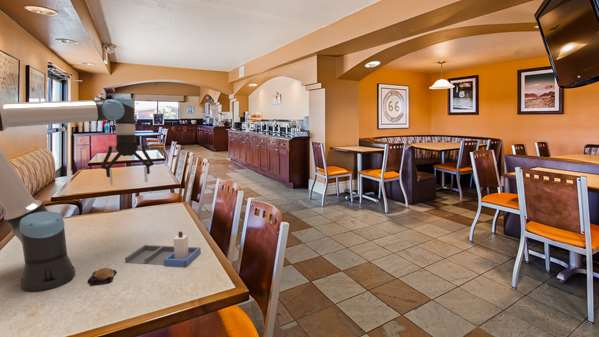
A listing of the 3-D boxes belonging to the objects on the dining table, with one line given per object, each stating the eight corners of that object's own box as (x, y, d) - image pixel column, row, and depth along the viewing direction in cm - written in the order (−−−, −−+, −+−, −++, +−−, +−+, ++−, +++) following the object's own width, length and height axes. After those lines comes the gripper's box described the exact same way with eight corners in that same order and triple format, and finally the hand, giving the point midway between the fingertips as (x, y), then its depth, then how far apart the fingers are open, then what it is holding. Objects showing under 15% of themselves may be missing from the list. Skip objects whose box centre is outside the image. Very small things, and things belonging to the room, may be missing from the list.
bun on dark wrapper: (92, 275, 120) (91, 265, 119) (118, 271, 123) (117, 262, 122) (85, 289, 110) (84, 278, 110) (114, 284, 113) (113, 274, 113)
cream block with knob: (184, 260, 129) (182, 233, 128) (174, 260, 130) (173, 233, 128) (188, 256, 133) (187, 229, 132) (179, 256, 134) (177, 229, 132)
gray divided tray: (185, 267, 124) (184, 260, 124) (123, 264, 127) (123, 257, 127) (200, 253, 138) (200, 246, 138) (144, 250, 141) (144, 243, 141)
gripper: (155, 133, 151) (158, 179, 154) (91, 134, 137) (95, 184, 140) (158, 133, 145) (161, 181, 147) (91, 134, 131) (96, 187, 134)
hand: (129, 183), depth 144 cm, fingers open, 13 cm apart
